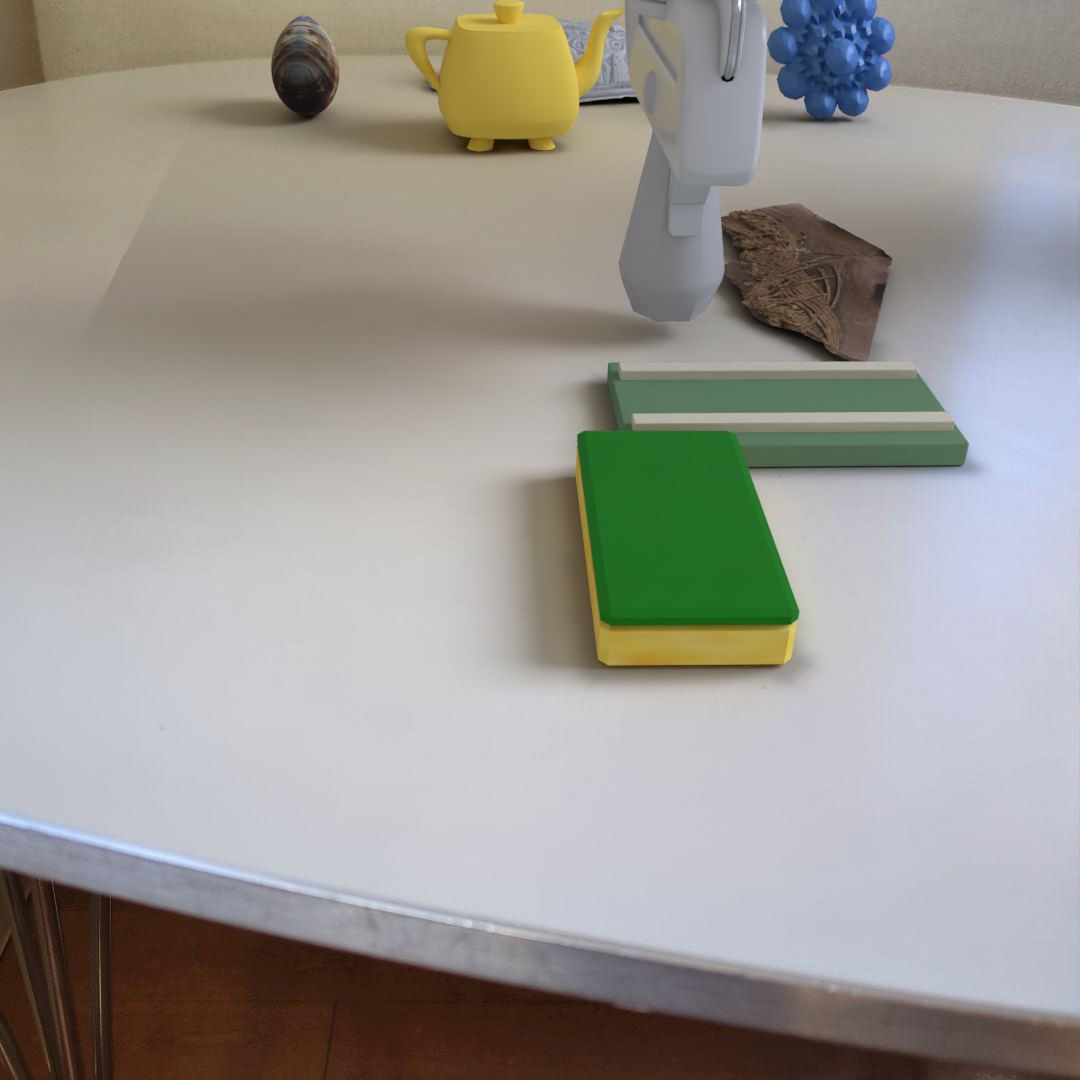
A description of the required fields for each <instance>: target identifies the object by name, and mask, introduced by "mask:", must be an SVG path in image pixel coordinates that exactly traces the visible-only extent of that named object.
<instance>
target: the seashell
mask: <svg viewBox="0 0 1080 1080" xmlns="http://www.w3.org/2000/svg"><path fill="white" fill-rule="evenodd" d="M270 63H271V64H270V70H271V72H270V73H271V80H272V83H273V87H274V90H275V93H276V94H277V96H278V98H279V99H280V101H281V102H282V104H284V106H285V107H286V108H287V109H289V110H290V111H291V112H293V113H295V114H296V115H299V116H304V117H314V116H316V115H317V116H318V115H319V114H321V113H322V112H324V111H325V110H326V109H327V108H328V107H329V106H330V104H332V103H333V101H334V98H335V96H336V94H337V92H338V88H339V83H340V64H339V59H338V55H337V51H336V48H335V46H334V44H333V42H332V40H331V38H330V37H329V35H328V34H327V33H326V31H325V30H324V28H323V27H322V26H321V25H320V24H319V23H318V22H317V21H316V20H314V19H313V18H312V17H310V16H308V15H306V14H302V15H301V14H300V15H298V16H297V17H295V18H294V19H292V20H291V21H290V22H289V23H288V24H286V26H285V27H284V29H282V30H281V32H280V34H279V35H278V37H277V39H276V42H275V44H274V47H273V50H272V53H271V62H270Z"/></svg>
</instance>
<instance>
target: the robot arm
mask: <svg viewBox="0 0 1080 1080" xmlns="http://www.w3.org/2000/svg"><path fill="white" fill-rule="evenodd" d="M624 8H625V12H624V25H625V27H624V29H625V31H626V54H627V65H628V74H629V80H630V84H631V87H632V89H633V91H634V93H635V95H636V97H635V98H636V99H637V100H638V103H639V105H640V107H641V109H642V111H643V113H644V115H645V117H646V119H647V122H648V123H649V125H650V127H651V129H652V130H651V133H652V132H653V131H654V133H655V135H656V137H657V139H658V141H659V143H660V145H661V147H662V149H663V151H664V154H665V156H666V158H667V160H668V162H669V169H670V170H671V174H670V185H669V196H668V207H667V229H668V231H669V233H670V234H671V235H672V236H674V237H694V236H697V235H698V234H700V232H701V230H702V225H703V215H704V205H705V202H706V200H707V197H708V194H709V191H710V188H711V186H719V187H740V186H741V187H742V186H746V185H747V184H749V183H750V182H751V181H752V179H753V177H754V174H755V171H756V168H757V165H758V163H759V157H760V149H761V138H762V127H763V126H762V124H763V115H764V103H765V102H764V101H765V89H766V77H767V76H766V75H767V62H768V61H767V59H768V58H767V57H768V46H767V42H768V26H767V19H766V15H765V12H764V10H763V8H762V7H761V6H760V0H624ZM652 69H653V70H654V72H655V78H656V97H655V106H654V112H653V115H651V114H649V113H647V111H646V109H645V105H644V101H643V88H644V84H645V79H646V75H647V74H648V73H649V72H650V71H651V70H652ZM721 77H723V78H724V79H725V80H726V82H725V81H722V79H721Z"/></svg>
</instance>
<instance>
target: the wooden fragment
mask: <svg viewBox="0 0 1080 1080" xmlns="http://www.w3.org/2000/svg"><path fill="white" fill-rule="evenodd" d="M721 226H722V228H724V231H725V233H727V234H728V235H729V236H730V237H731V238H732V249H734V250H736V251H739V252H741V253H739V256H738V261H730V262H727V263H726V264H724V269H725V271H724V275H723V278H725V277H726V278H728V279H730V282H731V283H732V284H733V285H734V286H736V287H737V289H738V290H739V291H740V293H741V296H742V297H743V299H744V300H743V301H740V305H741V306H742V307H744V308H745V309H746V310H748V312H749V313H750V314H751V316H752V317H754V318H755V319H757V320H758V321H759V322H762V323H764V324H765V325H767V326H771V327H777V328H780V329H785V330H788V331H794V332H798V333H800V334H802V335H804V336H806V337H808V338H811V339H812V340H814V341H816V342H819V343H823V346H824V348H825V349H826V350H827V351H829V353H832V354H833V355H834V356H835V355H836V356H839V357H840V358H842V359H845V360H848V361H849V362H868V359H869V356H870V351H871V347H872V344H873V339H874V336H875V330H876V328H877V322H878V319H879V314H880V311H881V307H882V303H883V300H884V293H885V291H886V288H887V287H886V286H887V285H888V284H887V283H888V280H889V275H890V266H892V262H893V257H892V256H891V255H889V254H888V253H886V251H885V250H884V249H882V248H880V247H878V246H876V245H875V244H873V243H871V242H869V241H867V240H866V239H864V238H861V237H860V236H857V235H855V234H854V233H852V232H850V231H848V230H846V229H844V228H842V227H840V226H839V225H837V224H836V223H833V222H832V221H830V220H827V219H825V218H824V217H822V216H819V214H817V213H814V212H813V211H812V210H811V209H809V208H807V207H806V206H805V205H803V204H801V203H799V202H797V203H795V202H794V203H788V204H778V205H777V204H776V205H771V206H767V207H760V208H759V207H758V208H754V209H751V210H749V209H745V210H734V211H730V212H729V213H728V215H723V216H721Z"/></svg>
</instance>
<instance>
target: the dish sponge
mask: <svg viewBox="0 0 1080 1080" xmlns="http://www.w3.org/2000/svg"><path fill="white" fill-rule="evenodd" d="M576 445H577V446H576V453H575V454H576V455H575V482H576V492H577V501H578V508H579V509H578V510H579V514H580V515H579V516H580V525H581V533H582V541H583V548H584V558H585V565H586V574H587V582H588V591H589V597H590V606H591V615H592V622H593V630H594V631H593V632H594V639H595V640H594V641H595V647H596V656H597V660H598V661H600V662H601V663H603V664H605V665H606V666H711V665H712V666H715V665H716V666H719V665H720V666H721V665H722V666H723V665H734V666H735V665H736V666H737V665H785V664H786V663H787V662H789V661H790V660H791V659H792V657H793V650H794V646H795V641H796V640H795V639H796V634H797V628H798V623H797V620H799V617H800V609H799V606H798V602H797V600H796V597H795V595H794V592H793V589H792V587H791V583H790V580H789V578H788V575H787V573H786V570H785V567H784V564H783V562H782V558H781V556H780V553H779V551H778V548H777V545H776V542H775V540H774V537H773V534H772V531H771V528H770V526H769V523H768V520H767V517H766V514H765V512H764V509H763V506H762V503H761V501H760V498H759V495H758V492H757V488H756V487H755V483H754V481H753V478H752V475H751V473H750V470H749V467H747V464H746V461H745V459H744V456H743V453H742V450H741V447H740V445H739V442H738V439H737V436H736V434H734V433H731V432H729V431H618V430H583V431H580V432H579V433H577V434H576Z"/></svg>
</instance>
